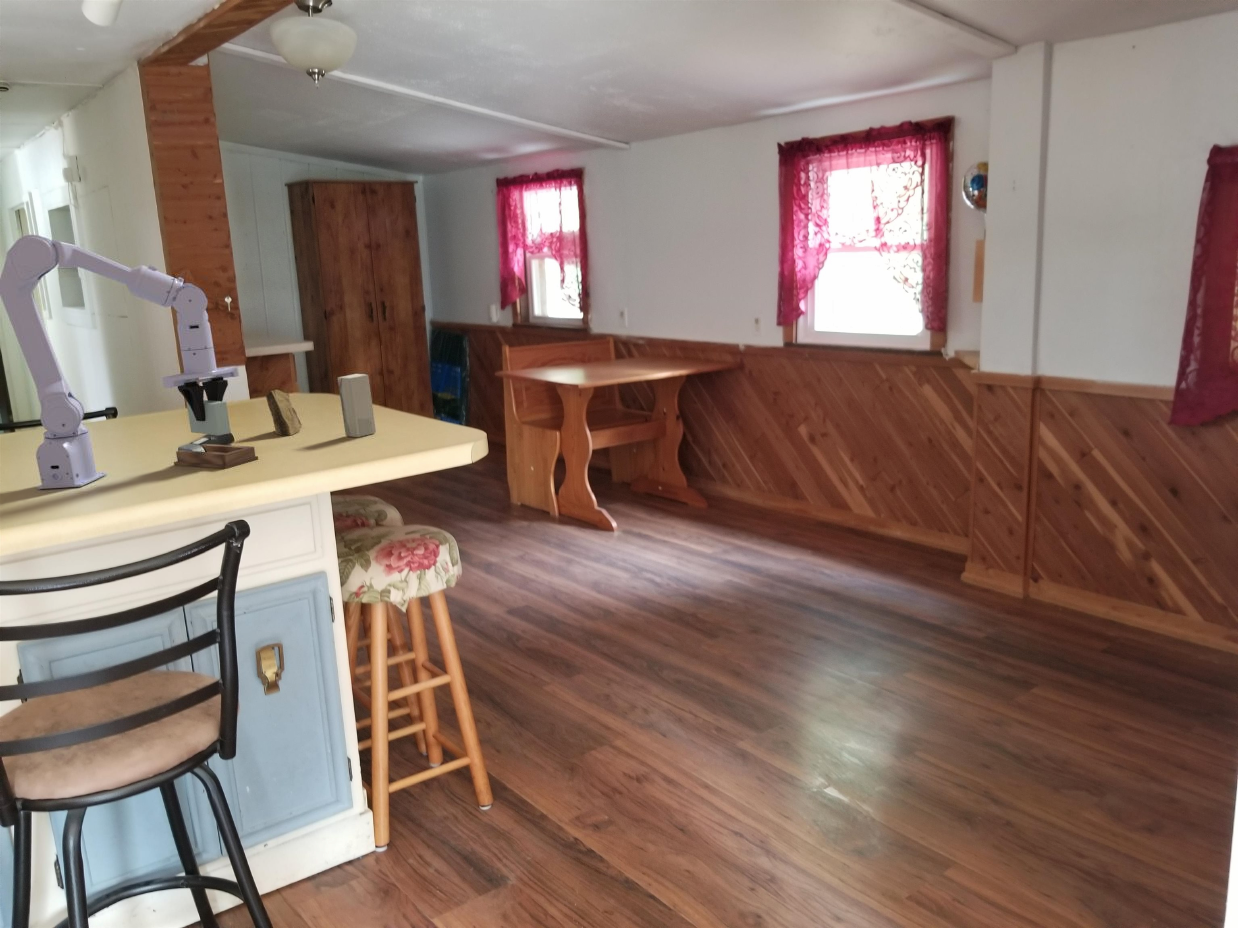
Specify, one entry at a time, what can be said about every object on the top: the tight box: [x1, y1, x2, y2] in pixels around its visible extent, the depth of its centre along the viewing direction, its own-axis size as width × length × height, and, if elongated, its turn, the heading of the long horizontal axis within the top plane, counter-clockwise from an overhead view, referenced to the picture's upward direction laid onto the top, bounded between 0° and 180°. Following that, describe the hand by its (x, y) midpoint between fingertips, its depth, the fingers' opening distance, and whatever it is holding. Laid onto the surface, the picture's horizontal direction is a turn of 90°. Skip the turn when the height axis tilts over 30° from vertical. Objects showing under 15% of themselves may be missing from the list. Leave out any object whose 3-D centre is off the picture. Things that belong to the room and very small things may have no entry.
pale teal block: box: [186, 399, 232, 436], centre depth 184 cm, size 9×3×6 cm, turn 56°
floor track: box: [173, 443, 259, 470], centre depth 186 cm, size 14×8×3 cm, turn 63°
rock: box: [265, 389, 303, 437], centre depth 215 cm, size 11×9×10 cm
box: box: [337, 373, 377, 438], centre depth 204 cm, size 5×4×13 cm
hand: (208, 419), depth 184 cm, fingers closed on pale teal block, 3 cm apart
